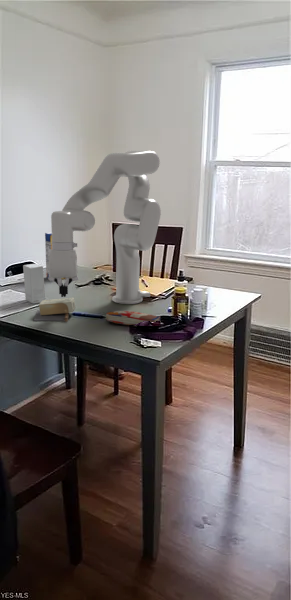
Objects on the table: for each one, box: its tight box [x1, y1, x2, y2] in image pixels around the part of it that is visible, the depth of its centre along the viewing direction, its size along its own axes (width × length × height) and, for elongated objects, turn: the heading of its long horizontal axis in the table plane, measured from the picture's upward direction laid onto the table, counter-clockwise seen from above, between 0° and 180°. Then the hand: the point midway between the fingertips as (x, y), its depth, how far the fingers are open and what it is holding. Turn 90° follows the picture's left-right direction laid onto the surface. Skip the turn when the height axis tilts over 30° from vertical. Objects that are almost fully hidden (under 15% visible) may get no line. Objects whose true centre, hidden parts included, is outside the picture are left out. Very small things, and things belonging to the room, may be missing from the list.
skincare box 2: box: [38, 297, 76, 315], centre depth 180 cm, size 6×4×12 cm
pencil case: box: [105, 310, 161, 326], centre depth 171 cm, size 11×20×5 cm, turn 60°
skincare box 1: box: [22, 263, 46, 305], centre depth 197 cm, size 8×6×15 cm
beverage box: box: [44, 232, 66, 280], centre depth 238 cm, size 7×11×22 cm, turn 123°
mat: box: [33, 309, 65, 322], centre depth 180 cm, size 11×12×1 cm
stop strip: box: [64, 313, 70, 323], centre depth 180 cm, size 1×14×2 cm, turn 6°
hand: (63, 295), depth 178 cm, fingers closed
